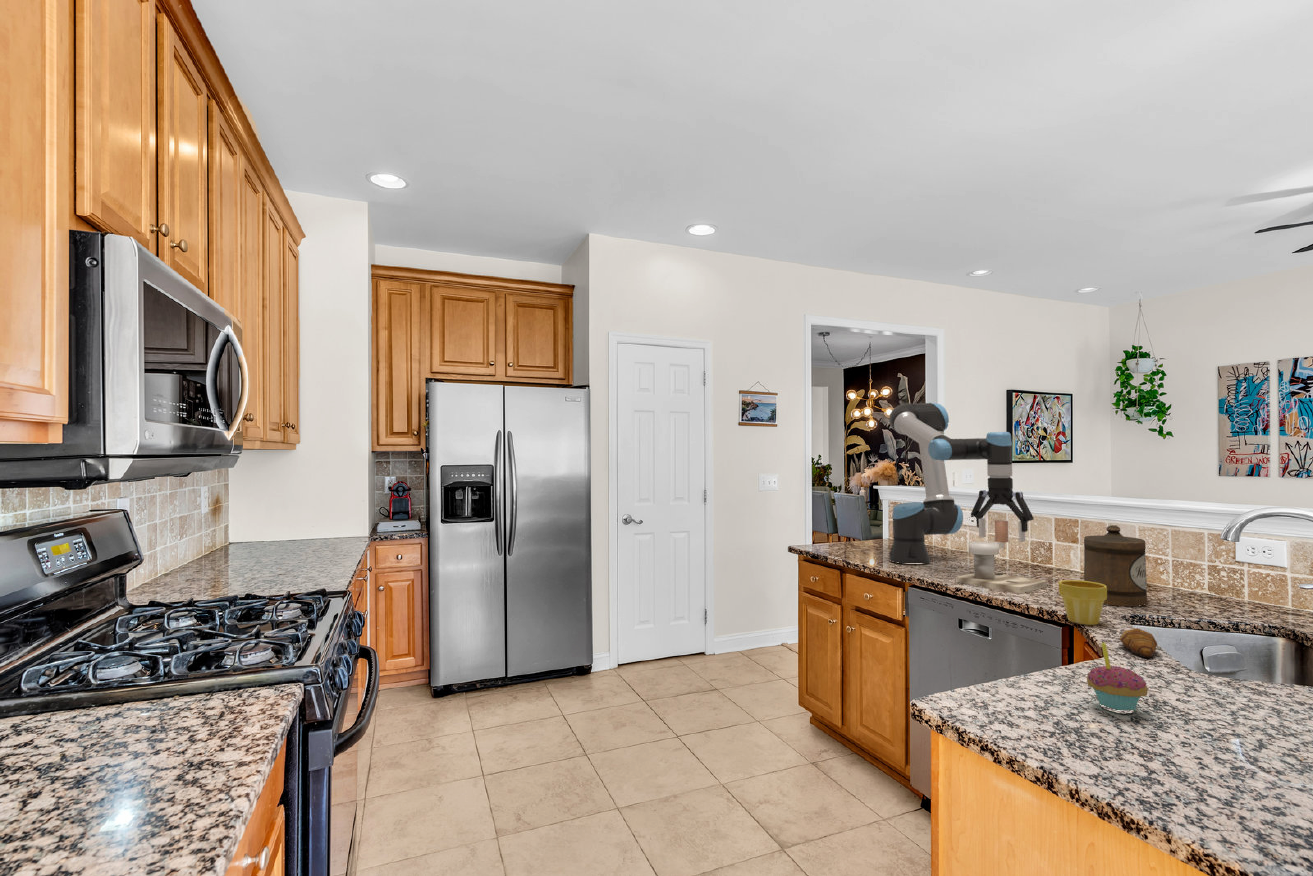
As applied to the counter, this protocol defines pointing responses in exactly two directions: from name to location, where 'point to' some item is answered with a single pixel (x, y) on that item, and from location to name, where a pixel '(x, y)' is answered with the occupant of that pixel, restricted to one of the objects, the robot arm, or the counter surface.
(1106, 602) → the wooden container
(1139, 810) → the counter surface
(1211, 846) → the counter surface
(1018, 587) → the post base
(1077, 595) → the plant pot
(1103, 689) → the cupcake
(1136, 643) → the croissant
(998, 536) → the crank handle
